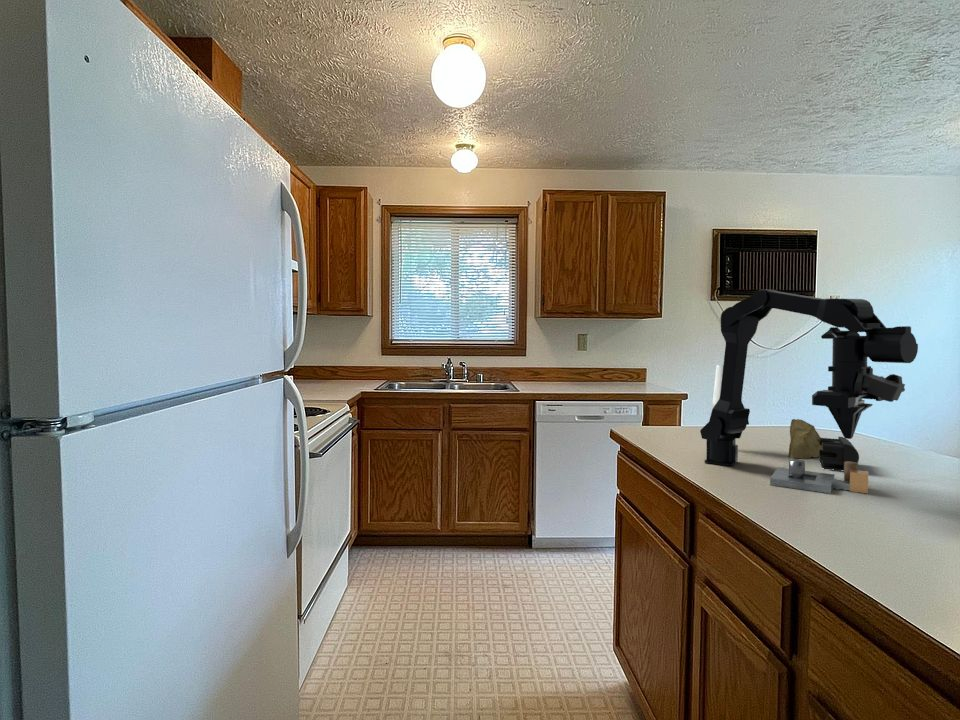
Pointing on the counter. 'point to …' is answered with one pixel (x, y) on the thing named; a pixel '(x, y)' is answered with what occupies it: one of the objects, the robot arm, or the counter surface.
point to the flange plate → (821, 481)
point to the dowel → (848, 467)
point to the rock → (803, 440)
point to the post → (797, 468)
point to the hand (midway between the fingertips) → (848, 438)
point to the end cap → (837, 453)
